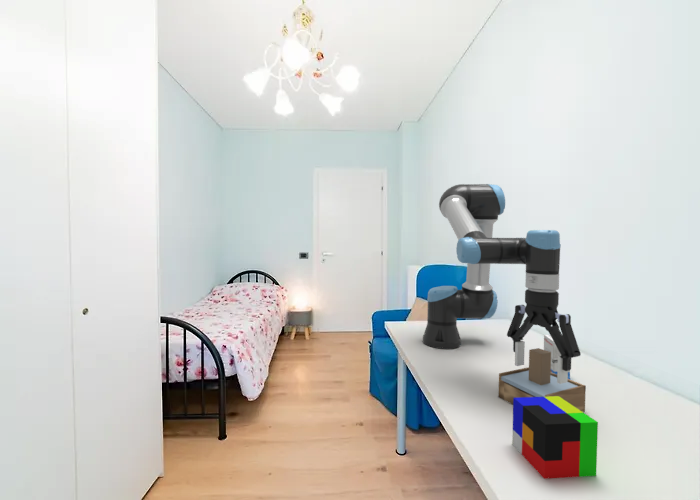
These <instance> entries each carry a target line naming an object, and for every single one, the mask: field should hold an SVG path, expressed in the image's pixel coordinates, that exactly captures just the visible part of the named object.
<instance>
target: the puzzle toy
mask: <svg viewBox="0 0 700 500" xmlns="http://www.w3.org/2000/svg"><path fill="white" fill-rule="evenodd" d="M598 427H599V422H598V421H597V420H595V419H594V418H592V417H590V416H589V415H588V414H586V413H584V412H582V411H580V410H579V409H577V408H576V407H574V406H573V405H571V404H570V403H568V402H567V401H565V400H564V399H562V398H561V397H559V396H549V397H520V398H513V405H512V435H511V436H512V439H511V440H512V441H511V442H512V444H511V445H512V446H513V447H514V448H515V449H516V450H517V452H519V453H520V455H522V457H523V459H525V460H526V461H527V462H528V463H529V464H530V466H532V468H534V469H535V471H536V472H537V473H538V474H539V475H540V476H541V477H542V478H543V479H544V480H547V479H565V478H566V479H567V478H582V477H597V465H598V463H597V462H598V461H597V459H598V435H599V434H598V430H599V428H598Z"/></svg>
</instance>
